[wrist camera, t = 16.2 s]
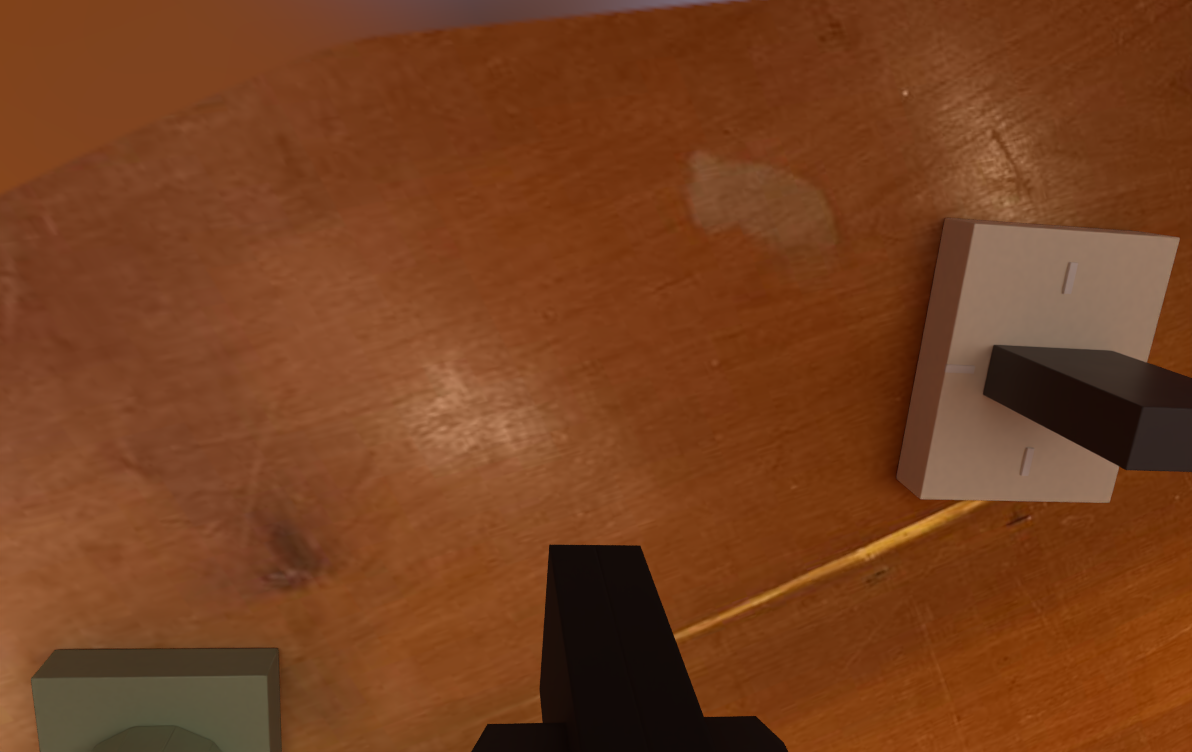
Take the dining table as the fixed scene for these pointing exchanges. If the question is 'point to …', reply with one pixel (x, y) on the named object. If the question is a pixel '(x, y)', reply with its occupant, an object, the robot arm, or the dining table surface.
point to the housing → (159, 700)
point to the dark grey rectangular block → (1099, 402)
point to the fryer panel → (1022, 318)
